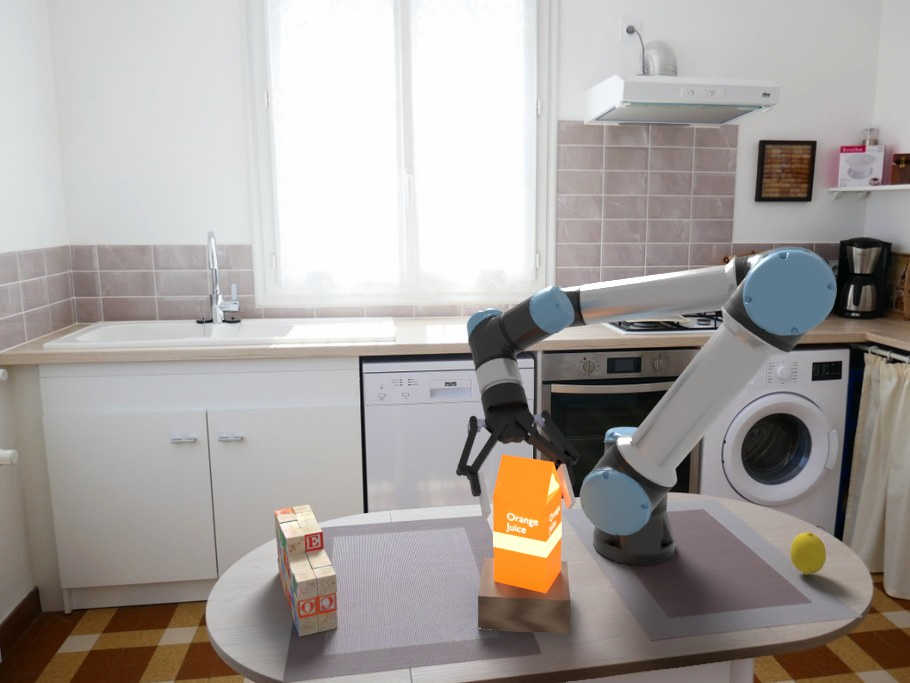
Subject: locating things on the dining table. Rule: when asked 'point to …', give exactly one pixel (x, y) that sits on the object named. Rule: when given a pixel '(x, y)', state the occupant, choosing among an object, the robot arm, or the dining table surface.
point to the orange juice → (527, 523)
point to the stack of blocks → (305, 570)
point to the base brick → (523, 604)
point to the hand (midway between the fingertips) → (529, 510)
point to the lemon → (808, 553)
